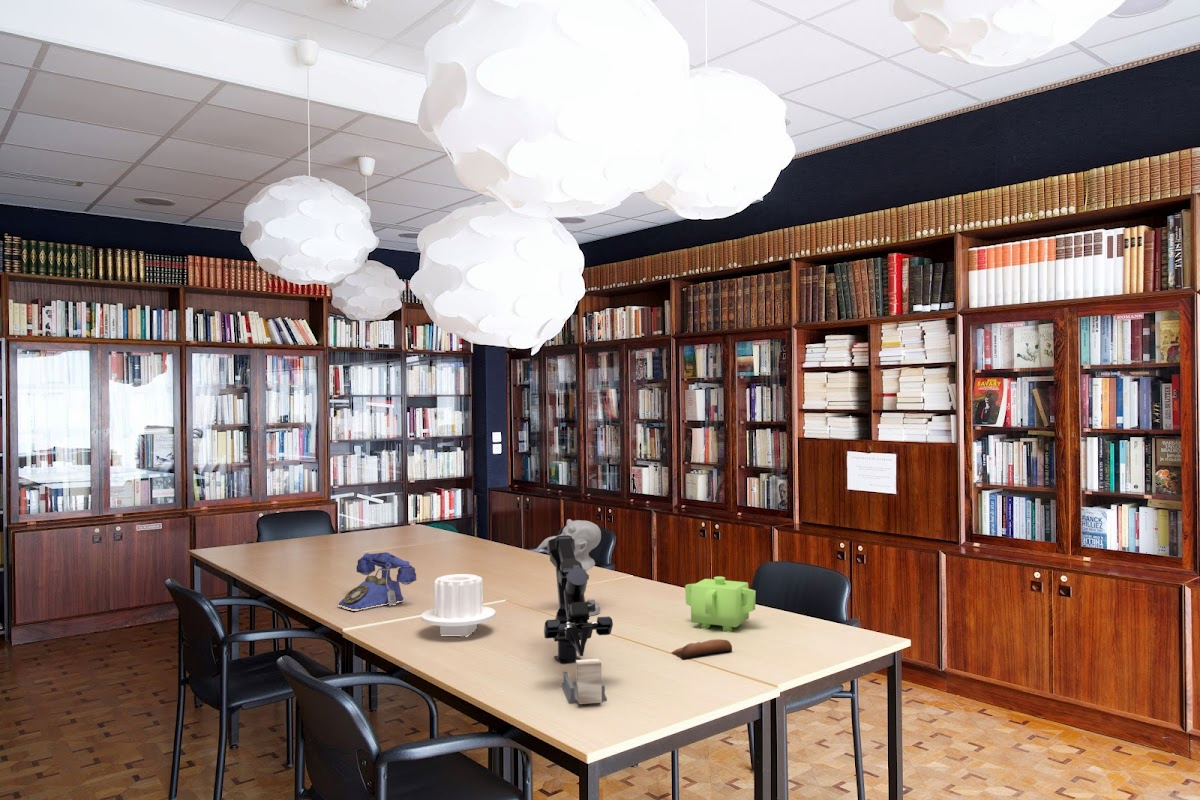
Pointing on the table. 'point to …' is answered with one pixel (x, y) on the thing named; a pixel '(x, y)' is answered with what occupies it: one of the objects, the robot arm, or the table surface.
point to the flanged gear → (458, 605)
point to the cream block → (588, 681)
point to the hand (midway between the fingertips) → (581, 655)
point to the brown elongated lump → (703, 648)
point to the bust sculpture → (581, 544)
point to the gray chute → (571, 689)
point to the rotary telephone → (379, 581)
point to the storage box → (720, 602)
